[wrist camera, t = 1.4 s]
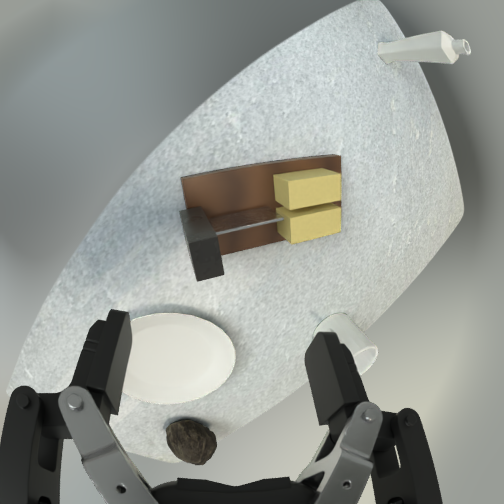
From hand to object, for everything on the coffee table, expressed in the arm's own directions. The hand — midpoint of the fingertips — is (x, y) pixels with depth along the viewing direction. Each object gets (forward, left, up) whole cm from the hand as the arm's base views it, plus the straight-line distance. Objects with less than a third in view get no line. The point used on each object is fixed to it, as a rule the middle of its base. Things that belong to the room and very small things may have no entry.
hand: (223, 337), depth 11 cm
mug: (+30, +16, -23) cm, 41 cm away
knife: (+3, +5, -21) cm, 21 cm away
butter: (+4, +14, -21) cm, 26 cm away
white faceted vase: (-14, +34, -23) cm, 43 cm away
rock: (+45, -18, -23) cm, 53 cm away
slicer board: (+4, +10, -22) cm, 25 cm away
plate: (+22, -11, -23) cm, 33 cm away
